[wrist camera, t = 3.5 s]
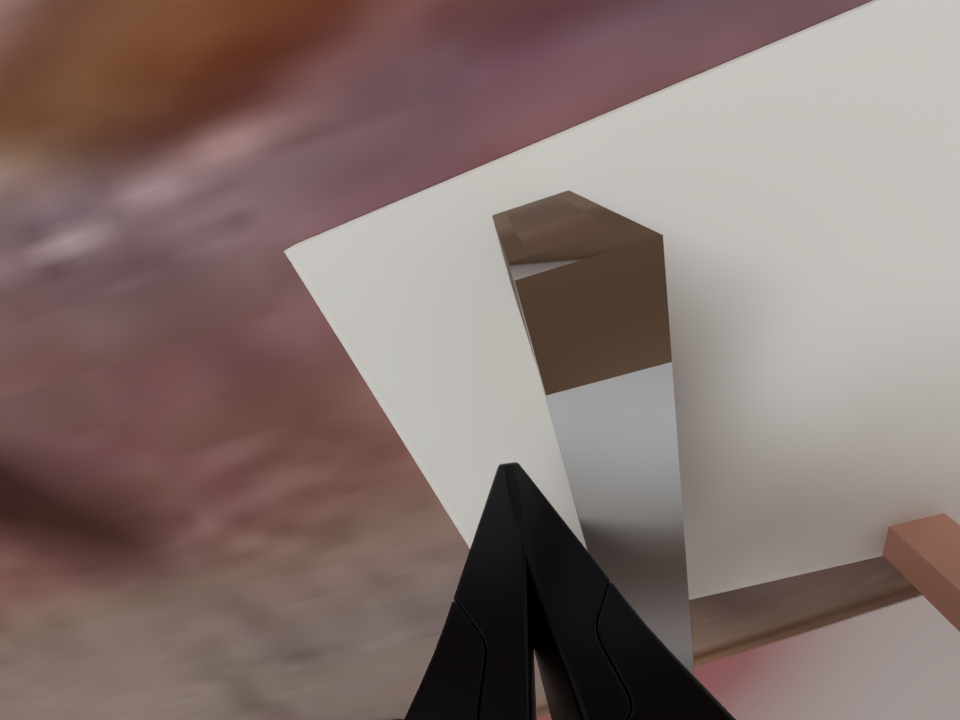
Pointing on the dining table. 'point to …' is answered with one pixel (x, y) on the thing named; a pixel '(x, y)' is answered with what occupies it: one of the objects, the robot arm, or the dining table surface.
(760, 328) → the white square board
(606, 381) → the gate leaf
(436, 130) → the dining table surface
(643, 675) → the robot arm
